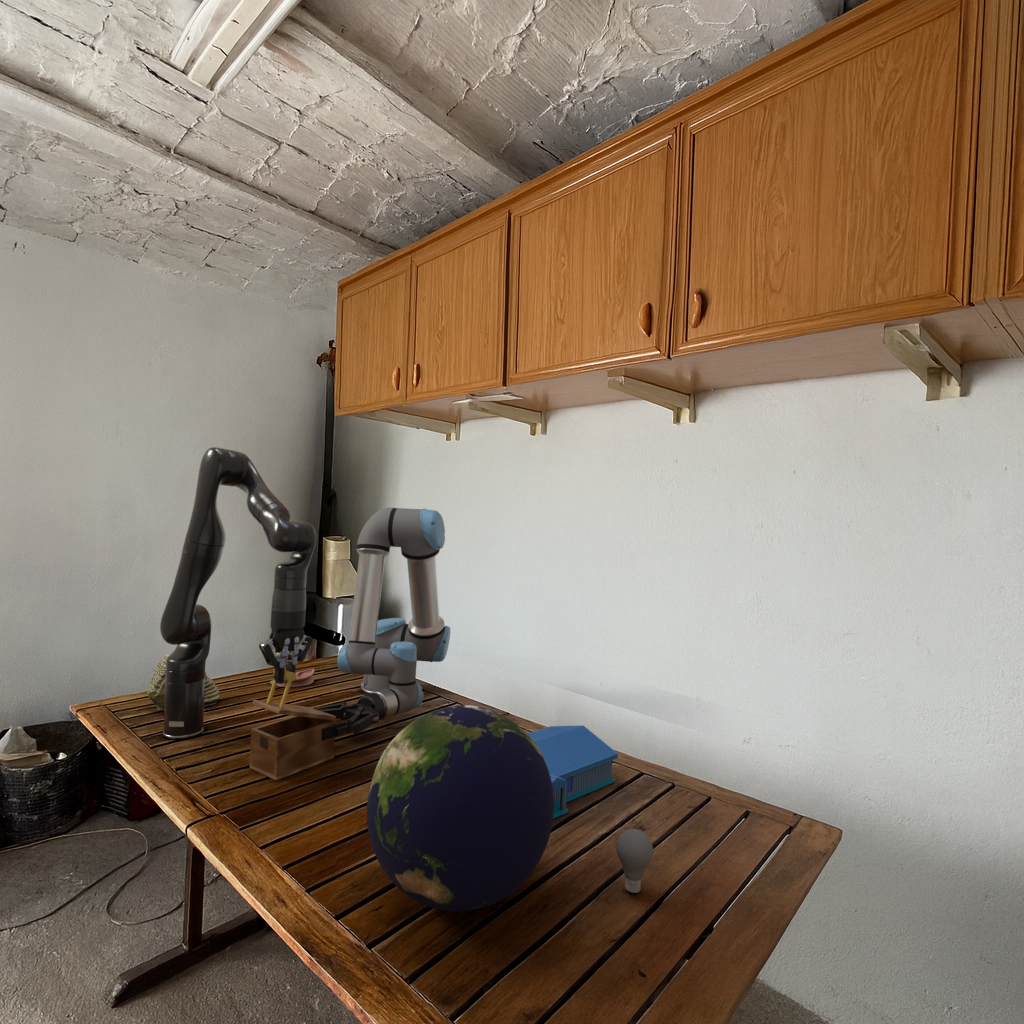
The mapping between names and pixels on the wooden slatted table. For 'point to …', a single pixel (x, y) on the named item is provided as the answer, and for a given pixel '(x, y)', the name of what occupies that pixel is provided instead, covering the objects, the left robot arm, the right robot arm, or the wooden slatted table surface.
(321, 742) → the chest
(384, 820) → the globe
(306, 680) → the anatomical model
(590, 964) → the wooden slatted table surface
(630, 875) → the light bulb
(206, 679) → the fossil
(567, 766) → the model building
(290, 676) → the lid
